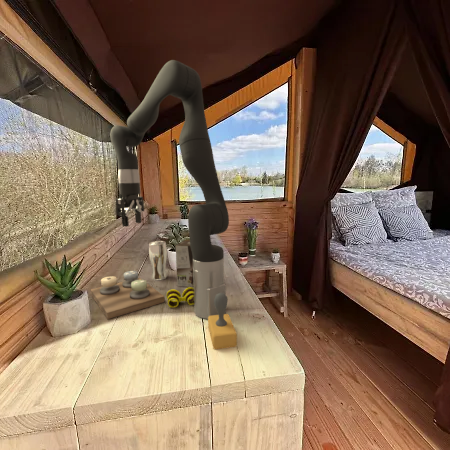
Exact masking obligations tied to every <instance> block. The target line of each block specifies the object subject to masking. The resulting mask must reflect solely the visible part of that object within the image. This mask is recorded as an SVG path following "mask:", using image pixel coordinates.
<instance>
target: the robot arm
mask: <svg viewBox="0 0 450 450" xmlns="http://www.w3.org/2000/svg"><path fill="white" fill-rule="evenodd" d="M169 96H172V97H174V98H177V99H179V100H181V102H182V105H183V109H184V118H185V119H184V123H183V126H182V128H181V130H180V133H179V138H178V143H179V144H178V145H179V151H180V155H181V160H182V163H183V165H184V167H185V169H186V170H187V172H188V173H189V174H190V176H191V177H192V179H193V180H194V181H195V183H197V185H198V186H199V188H200V189H201V191H202V194H203V198H204V201H205V203H201V204H195V205H193V206H192V207H191V208H190V210H189V211H188V212H189V213H188V215H187V218H188V219H187V223H188V225H187V226H188V233H189V234H188V235H189V241H190V247H191V251H192V255H193V284H194V285H193V288H194V305H193V309H194V314H195V316H196V317H198V318H201V319H204V320H205V319H207V320H208V317H209V316H213V315H218V312H217V310H216V308H215V305H214V299H215V296H216V295H217V294H218V293H224V294H225V295H226V296H227V285H226V284H225V268H224V267H225V265H224V264H225V263H224V262H225V257H224V255H225V254H224V252H225V251H224V248H223V247H222V246H219V245H217V244H213V243H212V240H211V236H213V235H218V234H223V233H225V232H226V231H227V230H228V228H229V224H230V217H229V211H228V208H227V204H226V201H225V197H224V194H223V192H222V188H221V185H220V179H219V177H218V172H217V168H216V164H215V158H214V153H213V146H212V143H211V139H210V135H209V130H208V123H207V118H206V114H205V105H204V96H203V87H202V81H201V77H200V74H199V73H198V72H197V70H195V69H194V68H192V67H191V66H189V65H186V64H185V63H182V62H181V61H179V60H175V59H171V60H169V61H167V62H166V63H165V64H164V65H163V66H162V67H161V69H160V70H159V72H158V74H157V75H156V78H155V79H154V81H153V82H152V84H151V86H150V88H149V90H148V91H147V93H146V95H145V96H144V99H143V100H142V102H141V103H140V104H139V105H138V106H137V108H136V109H135V110H134V111H133V112H132V113H131V114H130V115H129V116H128V118H127V120H126V125H127V126H126V125H125V126H124V125H119V124H118V125H114V126H113V127H112V128H111V130H110V132H109V133H110V135H109V136H110V141H111V144H112V146H113V149H114V152H115V153H114V154H115V156H116V159H117V169H118V174H117V178H118V181H117V182H118V190H119V195H120V196H122V197H121V198H116V200H115V201H116V203H115V204H116V216H120V217H121V224H122V227H129V223H130V222H129V213H130V212H131V211H132V210H133V211H134V216H135V217H134V219H135V223H136V224H140V223H142V214H143V212H144V211H145V204H144V203H145V201H144V196H139V195H140V194H141V183H140V182H141V181H140V173H139V163H138V161H139V160H138V156H137V154H135V153H132V152H130V151H129V150H128V148H135V147H137V146H139V145H140V144H141V143H142V141H143V139H144V136H145V134H146V132H147V131H148V130H149V129H151V127H152V126H153V125H154V124H155V123H156V122H157V120H158V117H159V111H160V105H161V103H162V102H163V100H165V98H167V97H169ZM127 147H128V148H127ZM224 314H227V309H226V310H225V312H224Z"/></svg>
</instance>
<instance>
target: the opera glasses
mask: <svg viewBox="0 0 450 450" xmlns="http://www.w3.org/2000/svg"><path fill="white" fill-rule="evenodd" d="M166 299H167V306H168V307H169V308H173V309H174V308H177V307H178V306H179V303H181V302H186V303H187V304H188V305H189V306H194V286H193V287H185V289H184V290H183V291H182V293H181V292H180V291H179V290H177V289H172V288H171V289H169V290H167V292H166Z"/></svg>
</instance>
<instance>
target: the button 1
mask: <svg viewBox="0 0 450 450" xmlns="http://www.w3.org/2000/svg"><path fill="white" fill-rule="evenodd" d="M117 283H118V279H117V277H116V276H113V275H111V276H105V277H103V278H101V279H100V284H101V286H100V287H111V286H114V285H116V284H117Z"/></svg>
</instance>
